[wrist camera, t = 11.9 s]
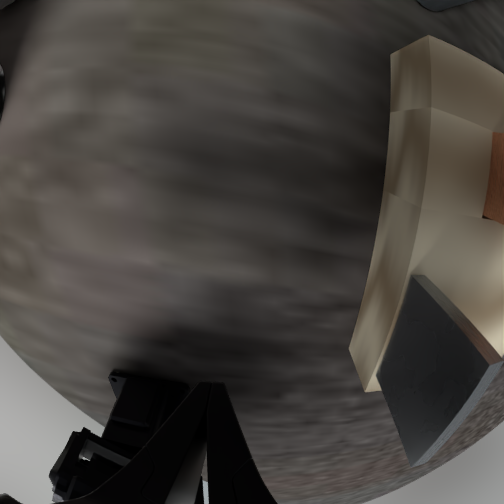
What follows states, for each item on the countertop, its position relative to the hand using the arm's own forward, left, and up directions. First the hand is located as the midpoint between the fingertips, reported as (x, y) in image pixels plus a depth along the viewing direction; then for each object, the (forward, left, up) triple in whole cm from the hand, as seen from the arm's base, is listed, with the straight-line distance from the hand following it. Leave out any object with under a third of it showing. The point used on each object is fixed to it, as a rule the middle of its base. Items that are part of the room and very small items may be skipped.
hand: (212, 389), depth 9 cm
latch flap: (0, -9, 0) cm, 9 cm away
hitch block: (+5, -14, -8) cm, 16 cm away
